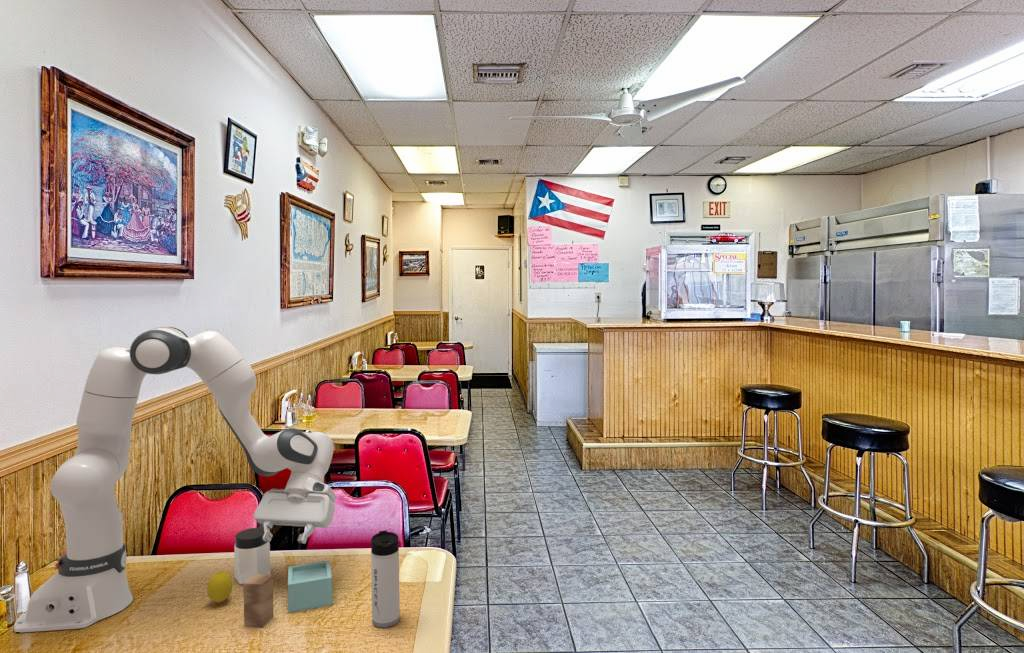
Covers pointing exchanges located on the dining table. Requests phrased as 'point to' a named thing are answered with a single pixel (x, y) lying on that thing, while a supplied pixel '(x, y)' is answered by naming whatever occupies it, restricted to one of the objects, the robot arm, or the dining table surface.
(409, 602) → the dining table surface
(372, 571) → the travel mug
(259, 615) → the walnut block
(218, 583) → the lemon
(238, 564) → the jar
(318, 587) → the teal box
